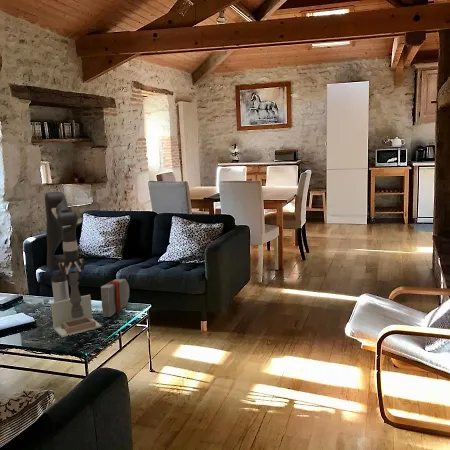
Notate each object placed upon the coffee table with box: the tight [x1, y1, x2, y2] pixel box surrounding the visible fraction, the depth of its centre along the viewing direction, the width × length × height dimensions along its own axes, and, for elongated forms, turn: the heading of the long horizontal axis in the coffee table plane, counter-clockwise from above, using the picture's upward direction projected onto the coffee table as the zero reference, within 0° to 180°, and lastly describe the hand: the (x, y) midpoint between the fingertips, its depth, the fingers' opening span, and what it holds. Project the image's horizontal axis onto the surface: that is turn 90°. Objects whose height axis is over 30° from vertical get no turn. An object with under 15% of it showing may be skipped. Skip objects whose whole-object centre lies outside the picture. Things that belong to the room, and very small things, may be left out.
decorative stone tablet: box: [100, 278, 130, 318], centre depth 306 cm, size 19×6×30 cm
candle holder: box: [68, 270, 83, 318], centre depth 279 cm, size 6×6×25 cm
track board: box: [50, 294, 102, 338], centre depth 282 cm, size 15×22×15 cm
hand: (73, 279), depth 277 cm, fingers closed on candle holder, 5 cm apart
